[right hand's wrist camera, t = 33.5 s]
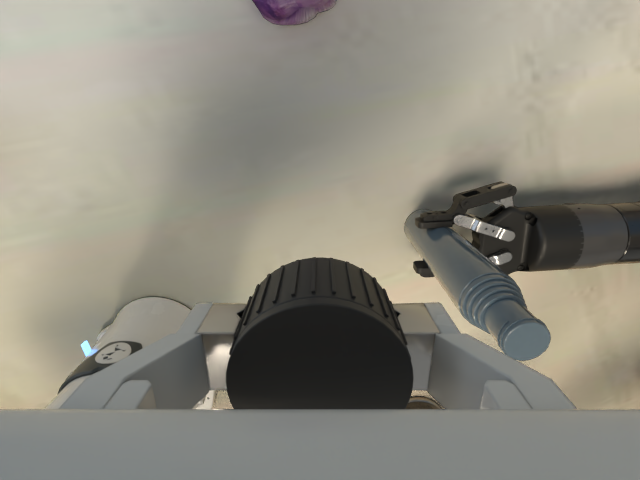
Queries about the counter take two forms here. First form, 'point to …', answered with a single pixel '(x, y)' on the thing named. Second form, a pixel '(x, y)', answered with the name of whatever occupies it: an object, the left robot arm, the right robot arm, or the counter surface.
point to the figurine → (292, 10)
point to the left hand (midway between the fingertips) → (416, 246)
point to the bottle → (479, 289)
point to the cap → (319, 342)
